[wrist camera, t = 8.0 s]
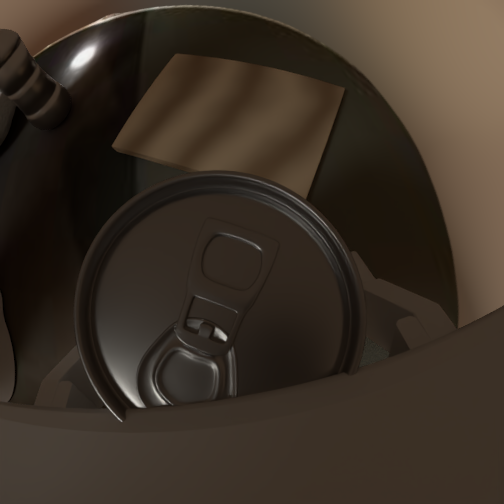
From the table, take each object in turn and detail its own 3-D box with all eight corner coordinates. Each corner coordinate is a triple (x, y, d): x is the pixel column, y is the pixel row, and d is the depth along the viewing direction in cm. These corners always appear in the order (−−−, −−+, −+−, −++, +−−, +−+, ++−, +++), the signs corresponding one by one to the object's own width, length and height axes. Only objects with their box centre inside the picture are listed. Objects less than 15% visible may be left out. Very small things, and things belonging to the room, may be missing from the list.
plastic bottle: (63, 93, 31) (-12, 8, 12) (85, 102, 30) (1, 3, 11) (35, 128, 31) (-51, 53, 11) (54, 142, 29) (-46, 55, 10)
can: (171, 341, 16) (33, 391, 5) (209, 239, 18) (130, 121, 6) (276, 380, 16) (310, 509, 4) (313, 276, 17) (421, 215, 5)
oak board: (116, 151, 28) (111, 146, 27) (178, 60, 30) (175, 53, 29) (301, 210, 25) (302, 206, 24) (343, 95, 27) (344, 88, 26)
